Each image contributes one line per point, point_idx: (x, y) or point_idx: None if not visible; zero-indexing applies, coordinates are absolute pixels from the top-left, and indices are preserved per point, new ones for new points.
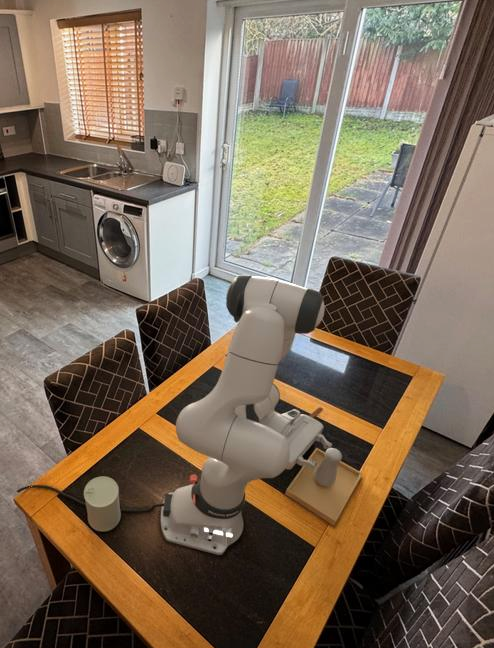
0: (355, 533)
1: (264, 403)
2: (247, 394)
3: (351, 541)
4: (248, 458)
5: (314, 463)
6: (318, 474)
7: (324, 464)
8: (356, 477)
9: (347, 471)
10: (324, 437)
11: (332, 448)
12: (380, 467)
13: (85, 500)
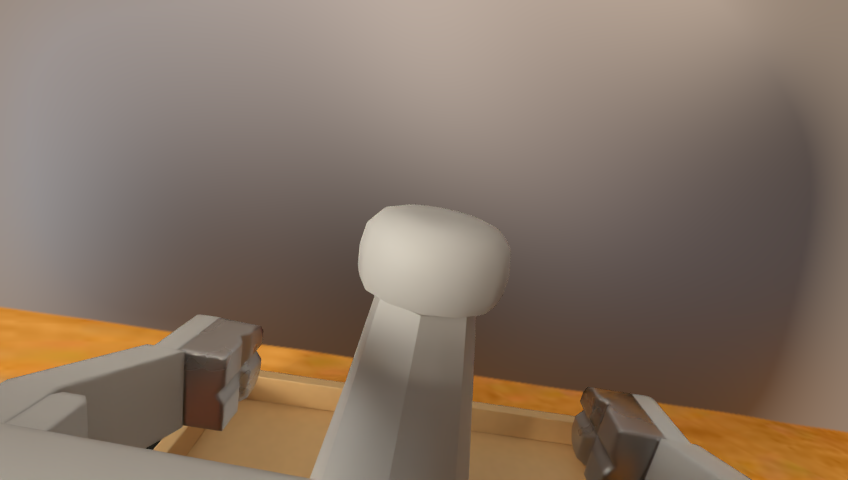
0: (521, 391)
1: None
2: None
3: (560, 397)
4: None
5: (620, 394)
6: None
7: (463, 387)
8: (240, 403)
9: (205, 443)
10: (78, 363)
11: (399, 219)
12: (115, 349)
13: None
